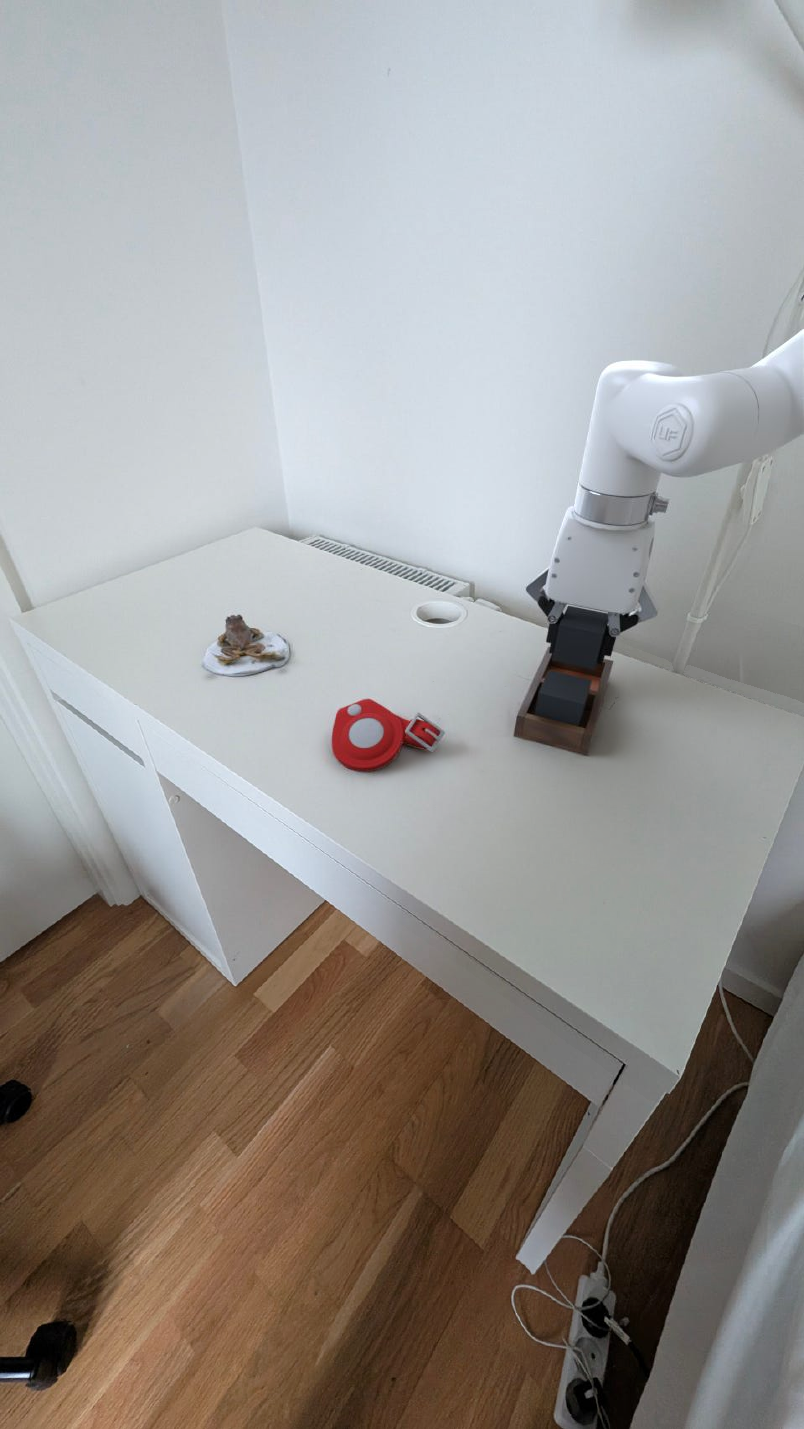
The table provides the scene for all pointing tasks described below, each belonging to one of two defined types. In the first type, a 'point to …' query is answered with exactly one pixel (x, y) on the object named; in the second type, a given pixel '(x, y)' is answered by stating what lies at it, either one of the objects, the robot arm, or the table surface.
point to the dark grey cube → (563, 698)
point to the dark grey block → (580, 637)
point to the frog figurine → (245, 650)
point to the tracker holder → (378, 735)
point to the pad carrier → (554, 730)
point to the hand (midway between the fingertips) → (577, 652)
